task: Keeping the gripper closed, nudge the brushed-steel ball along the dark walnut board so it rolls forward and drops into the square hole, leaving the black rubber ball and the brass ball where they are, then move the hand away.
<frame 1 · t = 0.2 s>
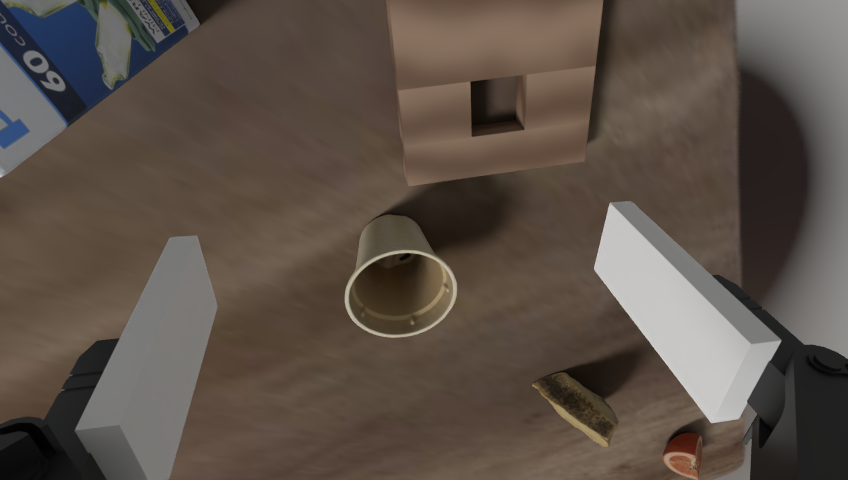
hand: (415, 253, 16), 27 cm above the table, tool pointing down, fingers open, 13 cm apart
fruit slice: (675, 439, 77), on the table
flower pot: (390, 240, 49), on the table
rock: (569, 389, 66), on the table
board: (490, 35, 39), on the table
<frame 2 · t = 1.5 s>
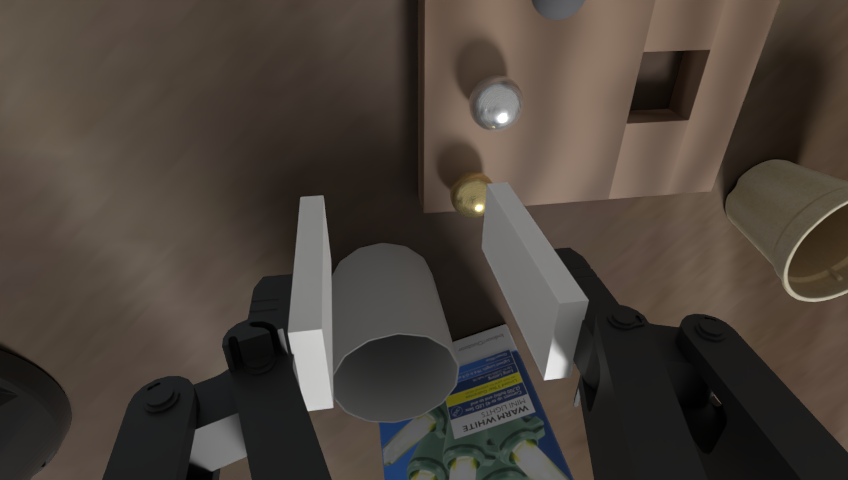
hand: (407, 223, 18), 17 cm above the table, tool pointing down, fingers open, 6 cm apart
flower pot: (757, 191, 42), on the table
string lights box: (449, 369, 47), on the table
steel ball: (495, 103, 29), point 4 cm above the table, touching board
brass ball: (472, 194, 32), point 4 cm above the table, touching board
board: (578, 80, 33), on the table
cup: (381, 284, 40), on the table
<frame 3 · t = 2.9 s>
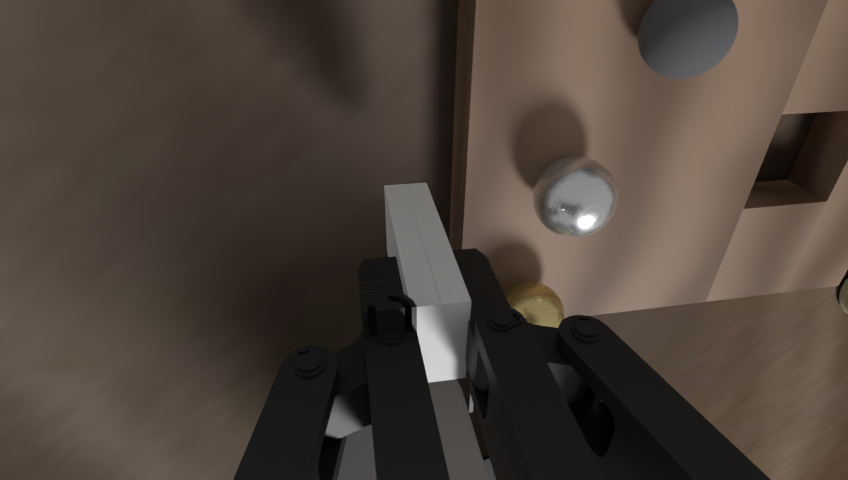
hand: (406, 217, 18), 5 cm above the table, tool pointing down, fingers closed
rubber ball: (686, 32, 17), point 4 cm above the table, touching board
steel ball: (574, 197, 19), point 4 cm above the table, touching board
brass ball: (530, 314, 23), point 4 cm above the table, touching board
board: (674, 147, 24), on the table
cup: (394, 401, 31), on the table
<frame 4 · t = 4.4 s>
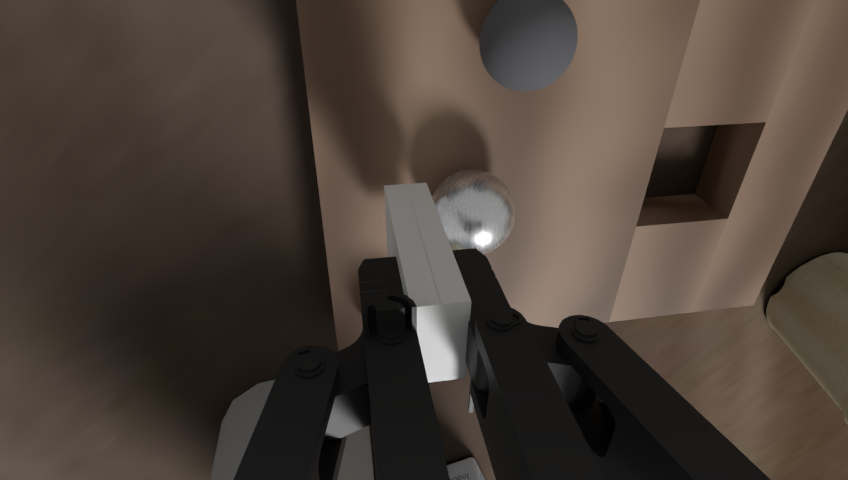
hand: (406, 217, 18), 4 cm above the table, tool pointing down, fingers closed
flower pot: (809, 289, 31), on the table
rubber ball: (527, 41, 15), point 4 cm above the table, touching board
steel ball: (471, 213, 18), point 4 cm above the table, tilted 53°, touching board
board: (565, 160, 23), on the table
cup: (297, 422, 29), on the table
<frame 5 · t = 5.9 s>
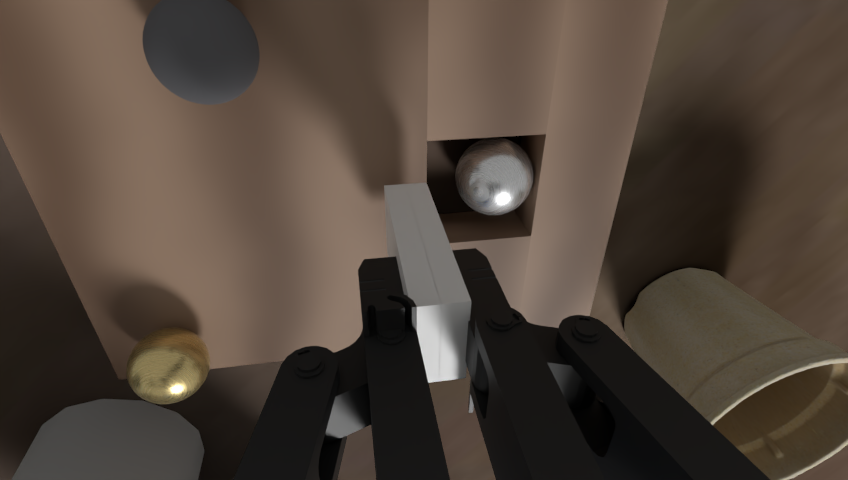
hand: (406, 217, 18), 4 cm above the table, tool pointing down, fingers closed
flower pot: (671, 305, 29), on the table
rubber ball: (203, 49, 14), point 4 cm above the table, touching board
steel ball: (493, 176, 20), point 2 cm above the table, tilted 141°
brass ball: (169, 365, 20), point 4 cm above the table, touching board
board: (354, 173, 21), on the table
cup: (125, 445, 28), on the table
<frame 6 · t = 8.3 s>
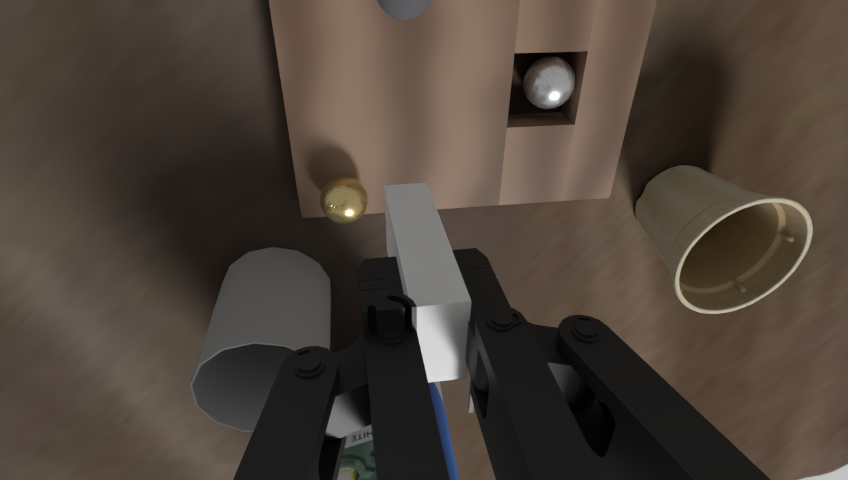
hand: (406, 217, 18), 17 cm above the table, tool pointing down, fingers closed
flower pot: (670, 198, 40), on the table
string lights box: (362, 375, 46), on the table
steel ball: (548, 83, 32), point 2 cm above the table, tilted 133°
brass ball: (344, 199, 31), point 4 cm above the table, touching board
board: (459, 82, 32), on the table
cup: (278, 289, 40), on the table
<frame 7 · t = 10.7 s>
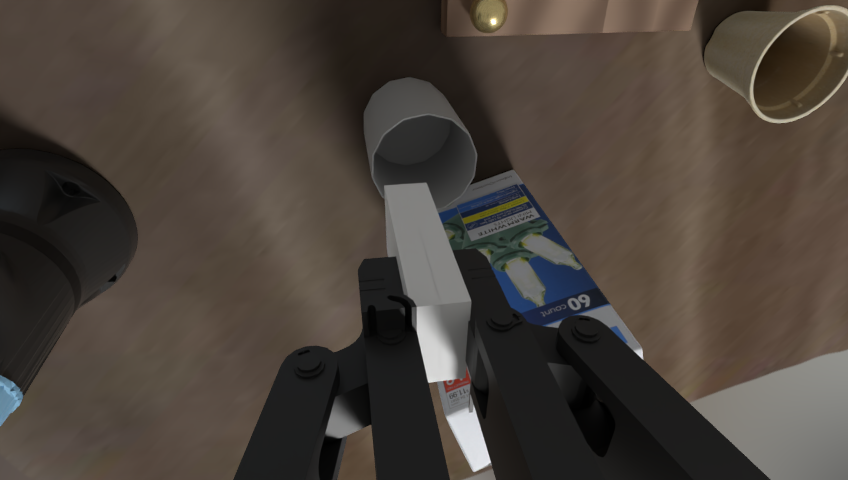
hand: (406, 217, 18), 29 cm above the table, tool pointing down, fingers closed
flower pot: (732, 45, 48), on the table
string lights box: (463, 217, 54), on the table
brass ball: (488, 12, 39), point 4 cm above the table, touching board
cup: (407, 121, 47), on the table
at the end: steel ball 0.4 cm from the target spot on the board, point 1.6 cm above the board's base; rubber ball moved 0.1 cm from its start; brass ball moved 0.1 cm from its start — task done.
